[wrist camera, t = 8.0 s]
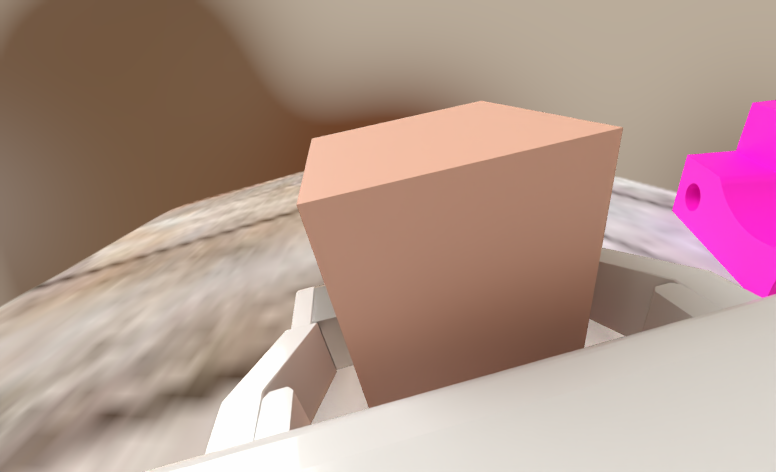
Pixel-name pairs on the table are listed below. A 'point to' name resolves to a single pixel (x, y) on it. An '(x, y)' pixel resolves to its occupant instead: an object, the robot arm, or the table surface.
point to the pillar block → (459, 240)
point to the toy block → (737, 202)
